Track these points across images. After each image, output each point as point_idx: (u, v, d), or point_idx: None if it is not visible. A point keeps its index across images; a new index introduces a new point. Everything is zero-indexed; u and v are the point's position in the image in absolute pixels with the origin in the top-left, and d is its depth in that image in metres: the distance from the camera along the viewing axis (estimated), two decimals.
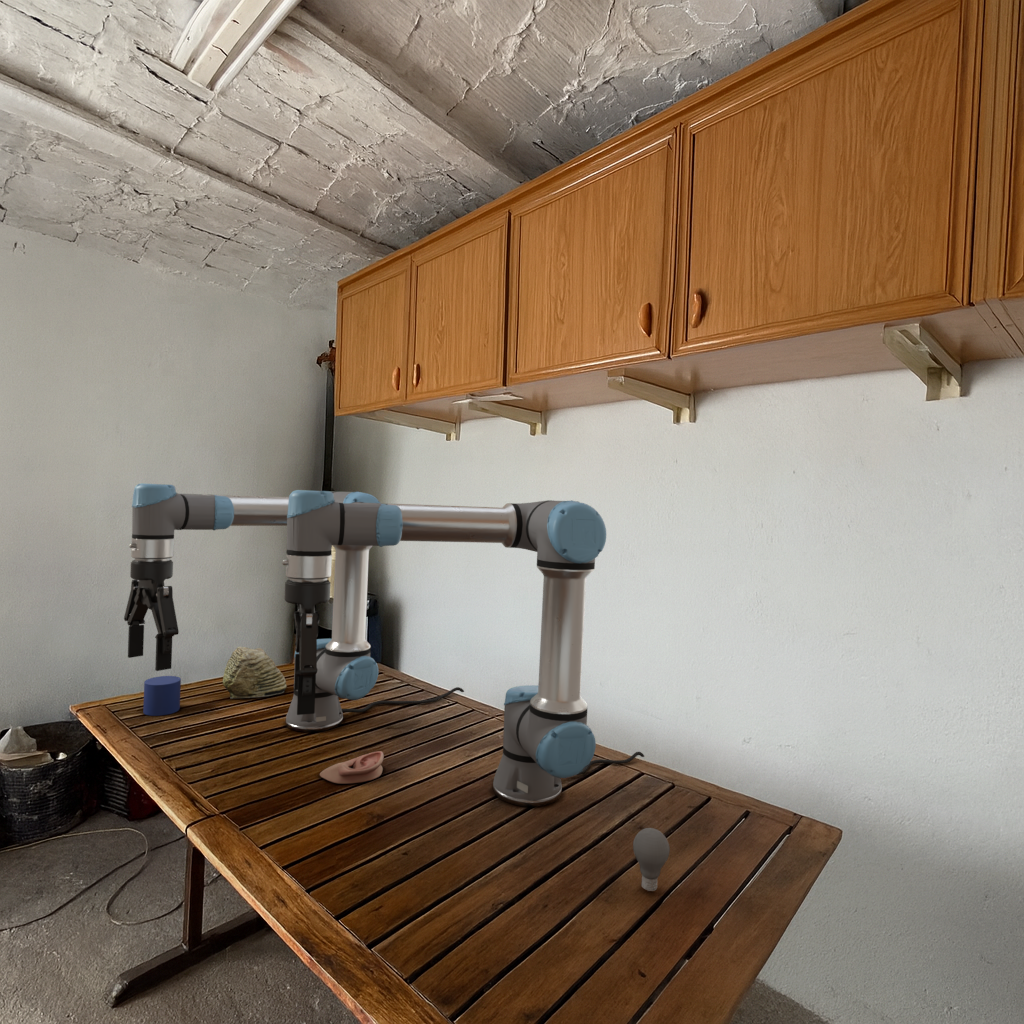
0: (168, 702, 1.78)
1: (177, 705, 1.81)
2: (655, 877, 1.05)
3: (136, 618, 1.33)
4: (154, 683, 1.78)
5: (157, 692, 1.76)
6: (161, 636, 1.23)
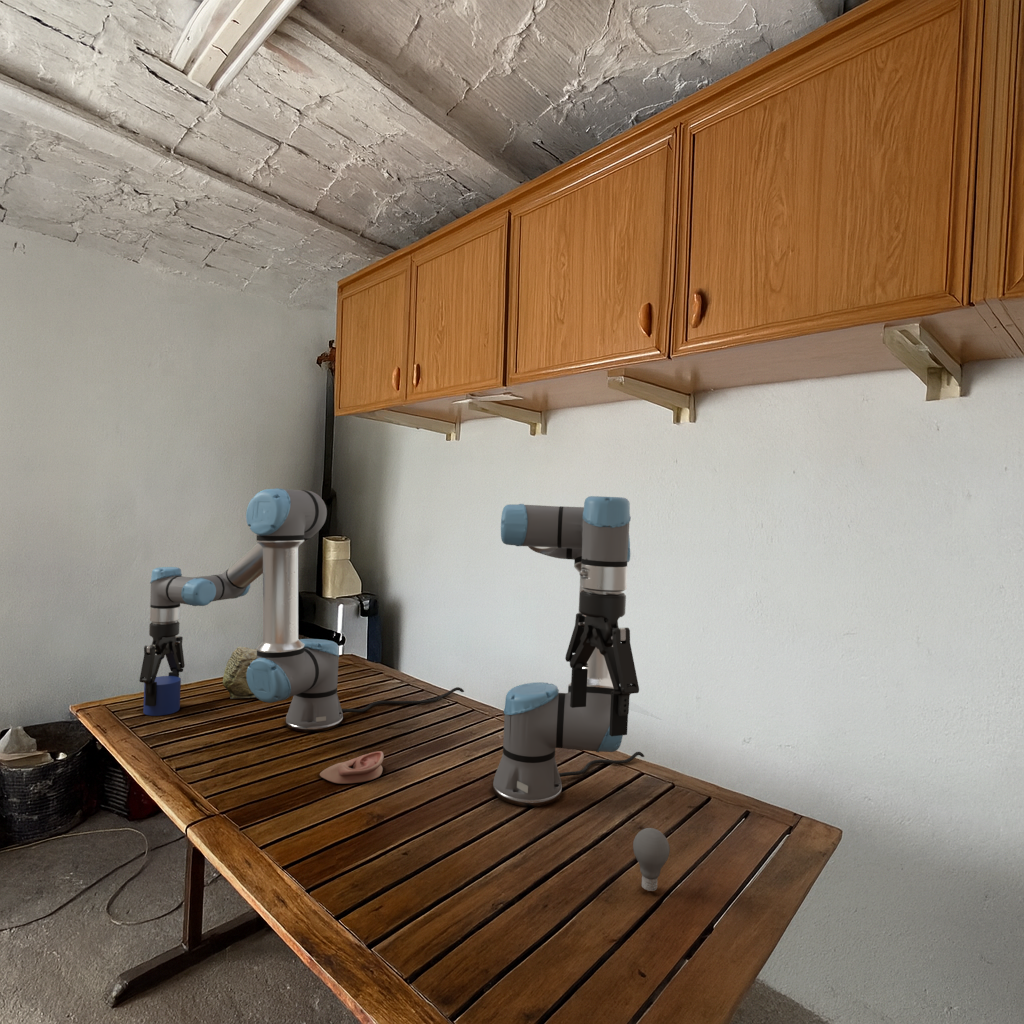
0: (168, 702, 1.78)
1: (177, 705, 1.81)
2: (655, 877, 1.05)
3: (172, 666, 1.85)
4: None
5: (157, 692, 1.76)
6: (144, 682, 1.75)
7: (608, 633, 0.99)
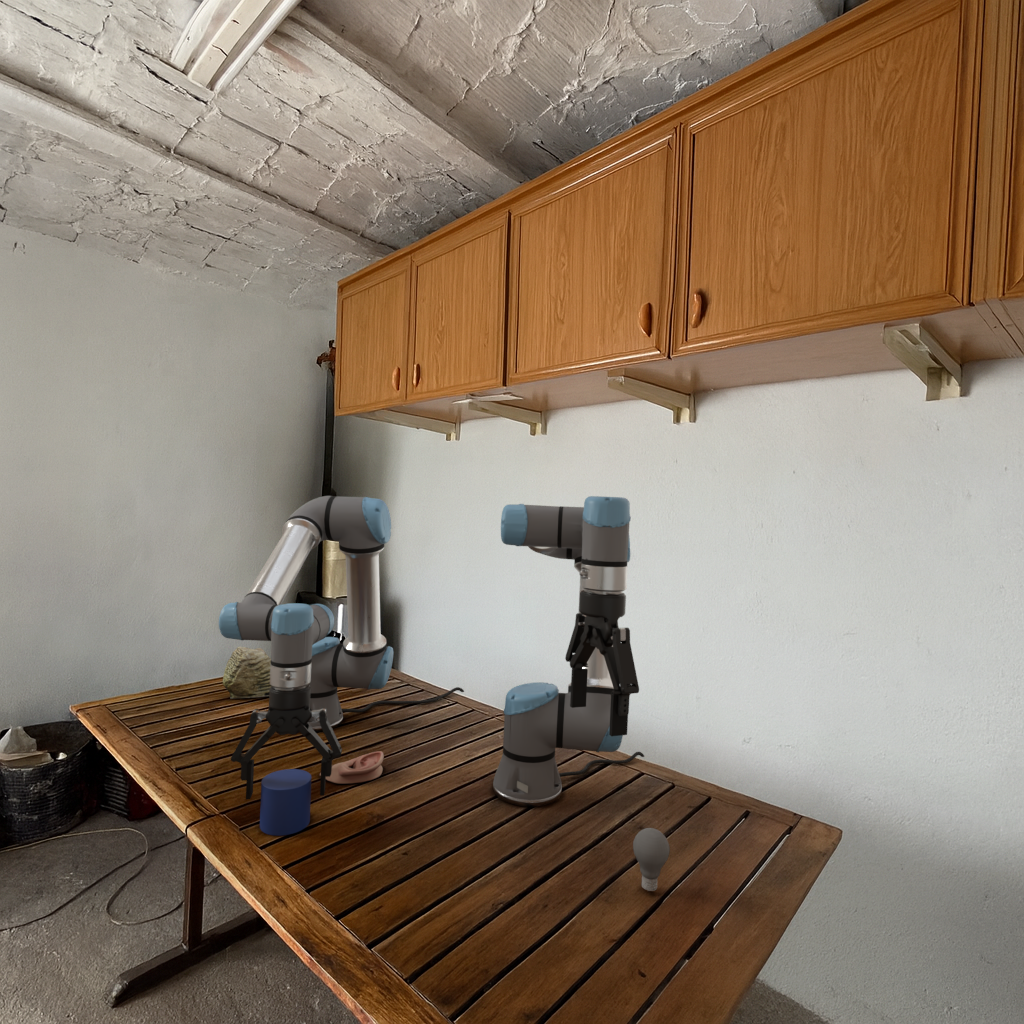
0: None
1: None
2: (655, 877, 1.05)
3: None
4: (304, 778, 1.23)
5: None
6: (331, 759, 1.23)
7: (608, 633, 0.99)
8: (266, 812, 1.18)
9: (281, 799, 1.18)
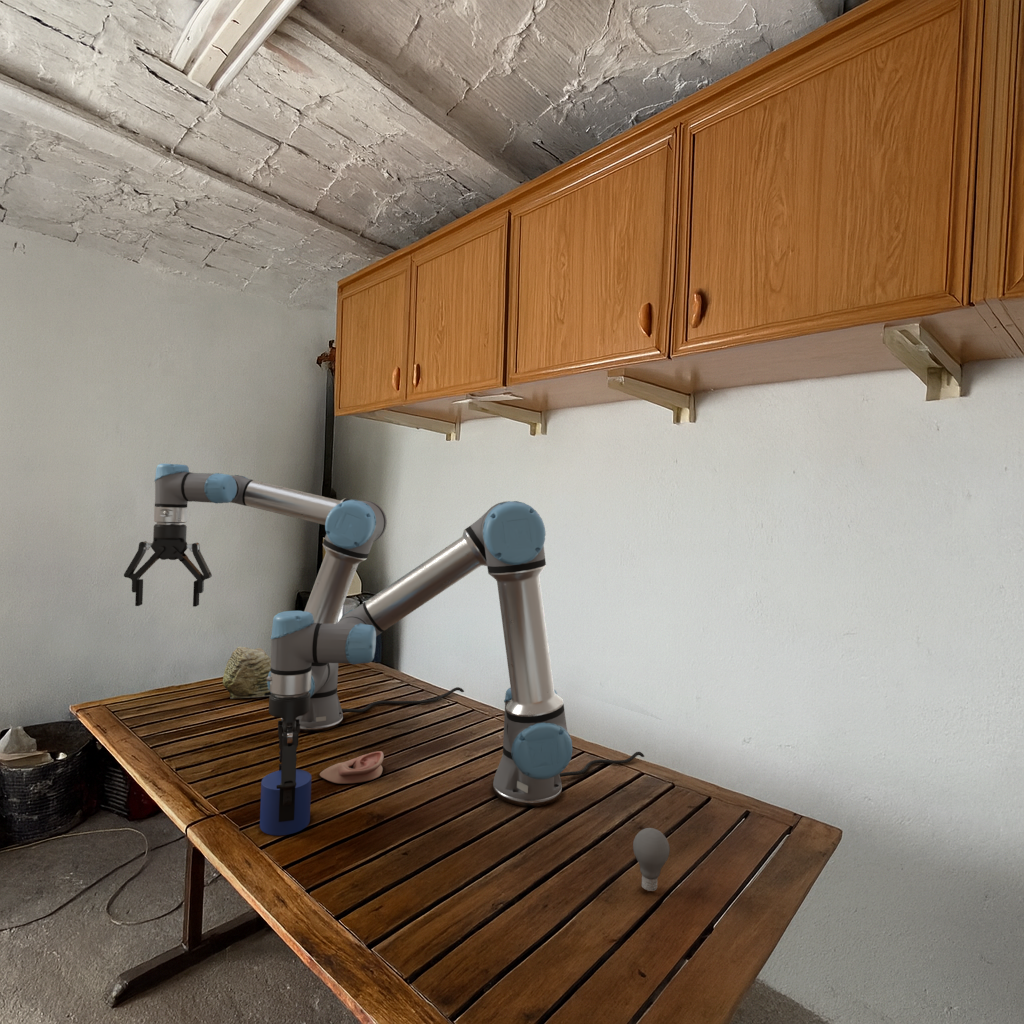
0: None
1: None
2: (655, 877, 1.05)
3: (142, 573, 1.62)
4: (304, 778, 1.23)
5: None
6: (201, 579, 1.65)
7: (284, 732, 1.18)
8: (266, 812, 1.19)
9: None
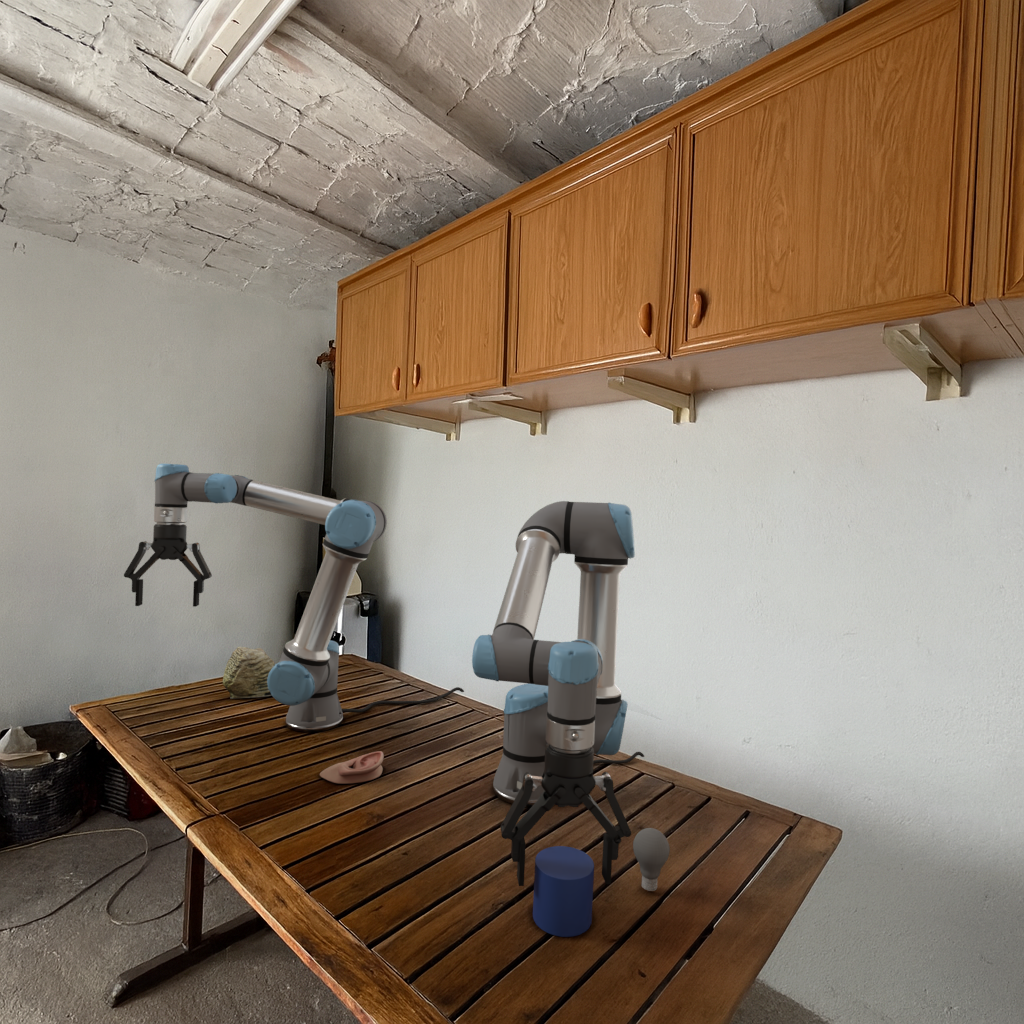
0: None
1: (533, 905, 0.98)
2: (655, 877, 1.05)
3: (142, 573, 1.62)
4: (565, 850, 1.02)
5: None
6: (201, 579, 1.65)
7: (594, 786, 0.98)
8: (586, 905, 0.95)
9: (593, 876, 0.98)
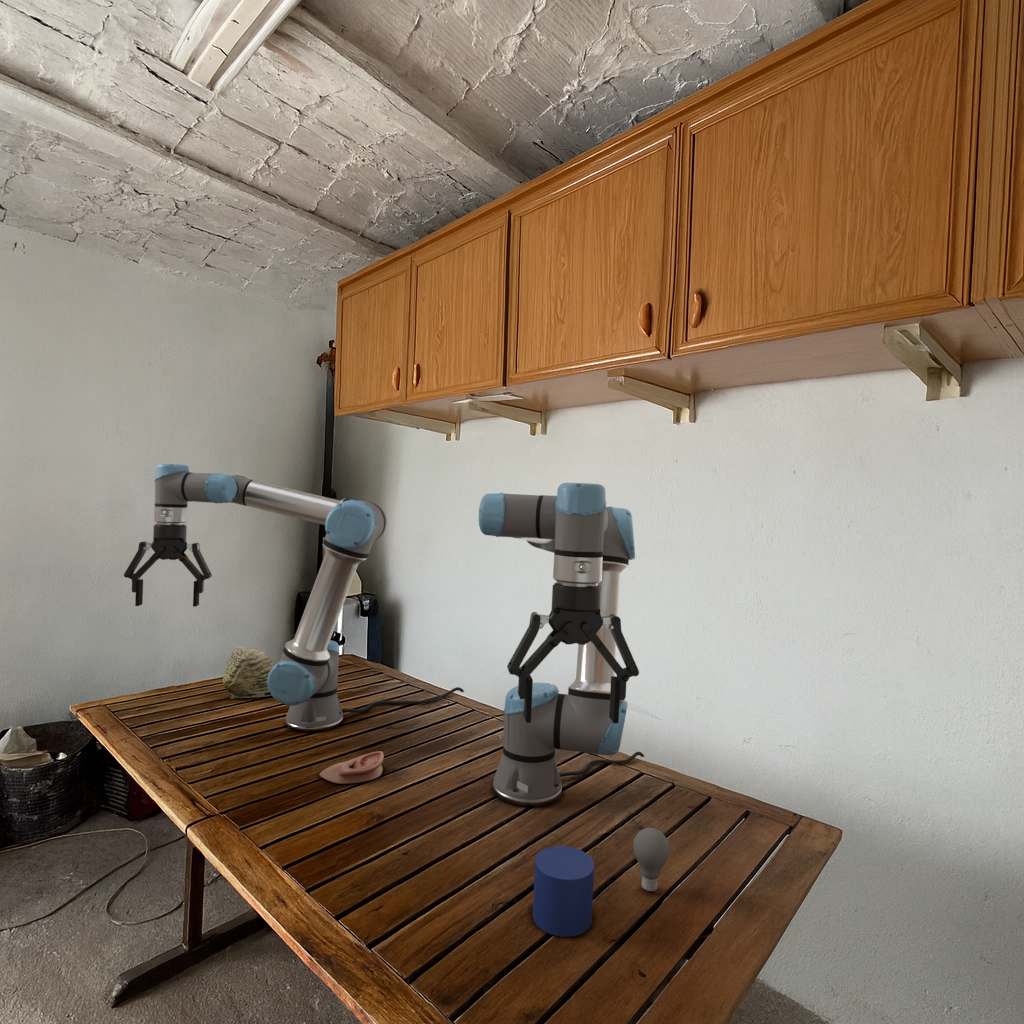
0: None
1: (533, 905, 0.98)
2: (655, 877, 1.05)
3: (142, 573, 1.62)
4: (565, 850, 1.02)
5: None
6: (201, 579, 1.65)
7: (602, 624, 0.97)
8: (586, 905, 0.95)
9: (593, 876, 0.98)
